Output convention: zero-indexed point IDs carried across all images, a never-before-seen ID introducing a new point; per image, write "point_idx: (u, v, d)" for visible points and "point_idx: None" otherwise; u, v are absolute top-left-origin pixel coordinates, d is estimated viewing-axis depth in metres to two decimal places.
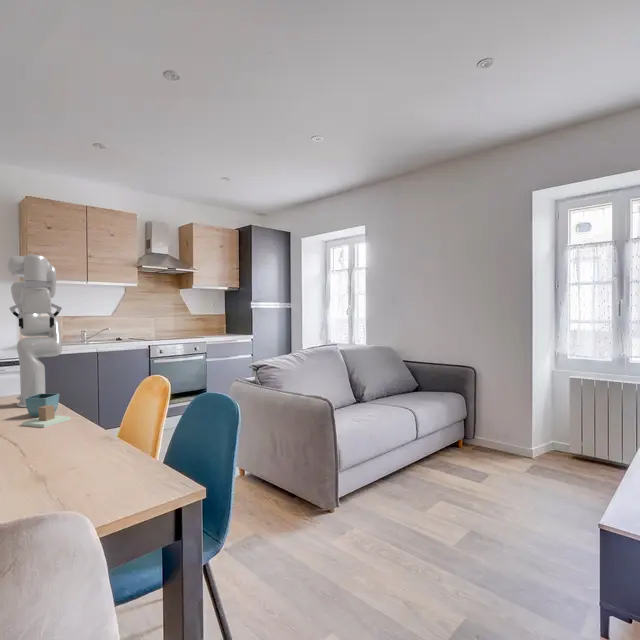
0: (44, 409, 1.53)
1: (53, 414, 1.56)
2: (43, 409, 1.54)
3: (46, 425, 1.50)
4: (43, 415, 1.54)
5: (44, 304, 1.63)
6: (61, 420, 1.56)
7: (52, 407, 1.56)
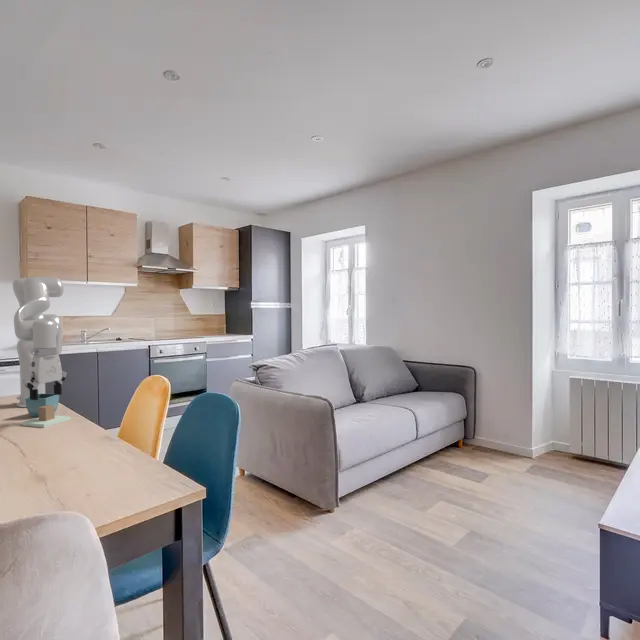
0: (44, 409, 1.53)
1: (53, 414, 1.56)
2: (43, 409, 1.54)
3: (46, 425, 1.50)
4: (43, 415, 1.54)
5: None
6: (61, 420, 1.56)
7: (52, 407, 1.56)
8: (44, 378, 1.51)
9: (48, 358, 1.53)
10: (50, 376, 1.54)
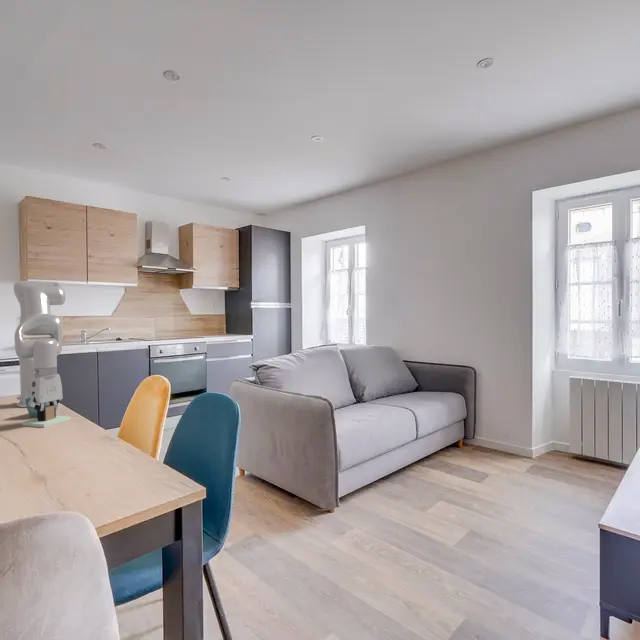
0: (44, 409, 1.53)
1: (53, 414, 1.56)
2: None
3: (46, 425, 1.50)
4: None
5: None
6: (61, 420, 1.56)
7: (52, 407, 1.56)
8: (44, 398, 1.52)
9: (48, 378, 1.54)
10: (50, 395, 1.54)
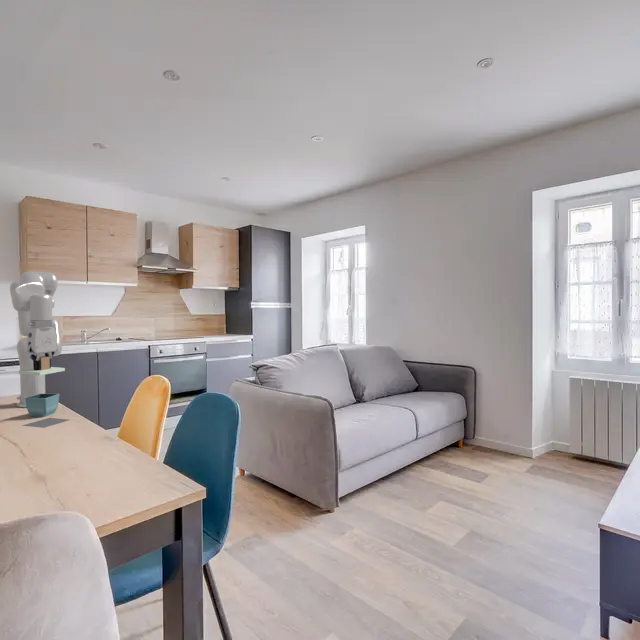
0: (40, 359, 1.63)
1: (48, 364, 1.66)
2: (39, 359, 1.63)
3: (41, 373, 1.59)
4: None
5: None
6: (56, 370, 1.65)
7: (47, 358, 1.65)
8: (40, 348, 1.61)
9: (44, 330, 1.63)
10: (45, 346, 1.63)
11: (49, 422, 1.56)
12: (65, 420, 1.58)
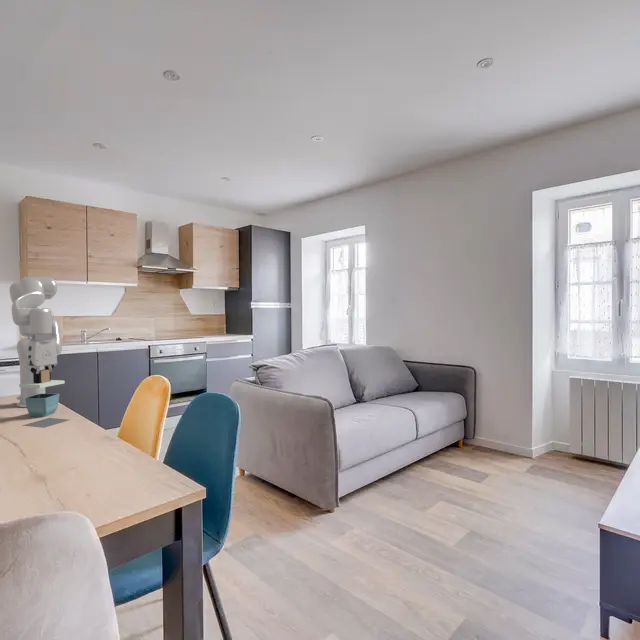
0: (40, 372, 1.65)
1: (48, 377, 1.68)
2: (39, 372, 1.65)
3: (41, 386, 1.61)
4: None
5: None
6: (56, 383, 1.67)
7: (47, 371, 1.67)
8: (40, 361, 1.63)
9: (44, 343, 1.65)
10: (45, 360, 1.65)
11: (49, 422, 1.56)
12: (65, 420, 1.58)
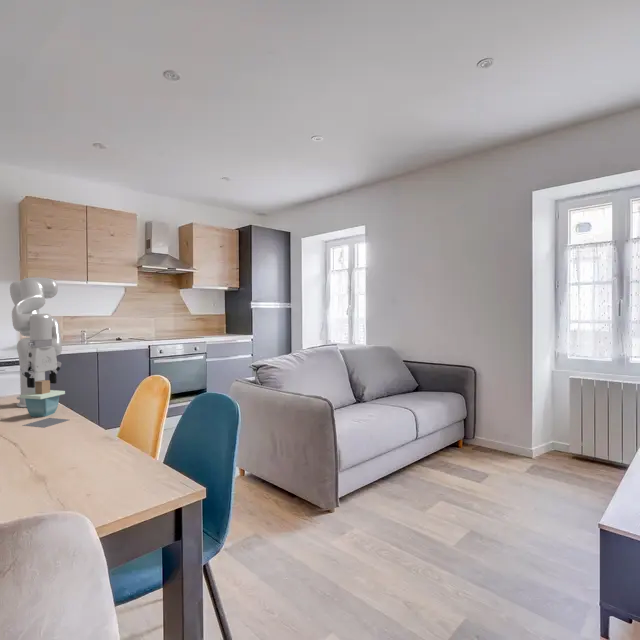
0: (40, 383, 1.65)
1: (49, 388, 1.68)
2: (39, 383, 1.65)
3: (42, 397, 1.61)
4: (40, 388, 1.65)
5: None
6: (56, 393, 1.67)
7: (48, 381, 1.68)
8: (40, 367, 1.63)
9: (44, 349, 1.65)
10: (45, 366, 1.66)
11: (49, 422, 1.56)
12: (65, 420, 1.58)
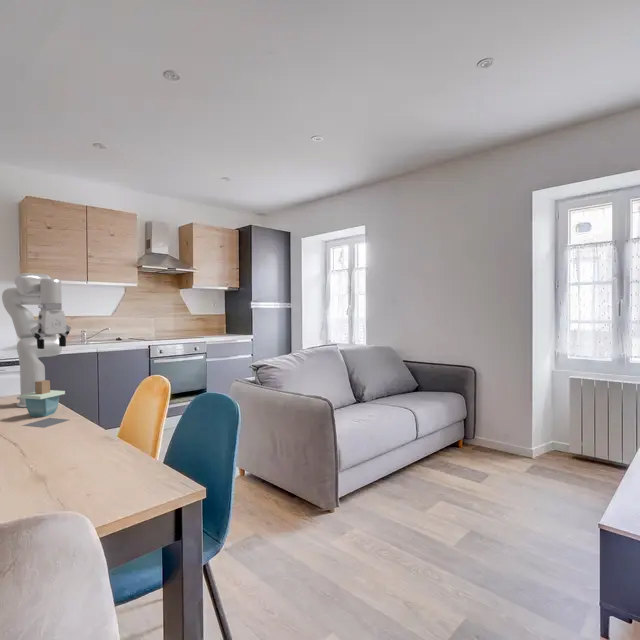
0: (40, 383, 1.65)
1: (49, 388, 1.68)
2: (39, 383, 1.65)
3: (42, 397, 1.61)
4: (40, 388, 1.65)
5: None
6: (56, 394, 1.67)
7: (48, 381, 1.68)
8: (50, 330, 1.69)
9: (54, 312, 1.70)
10: (55, 328, 1.71)
11: (49, 422, 1.56)
12: (65, 420, 1.58)
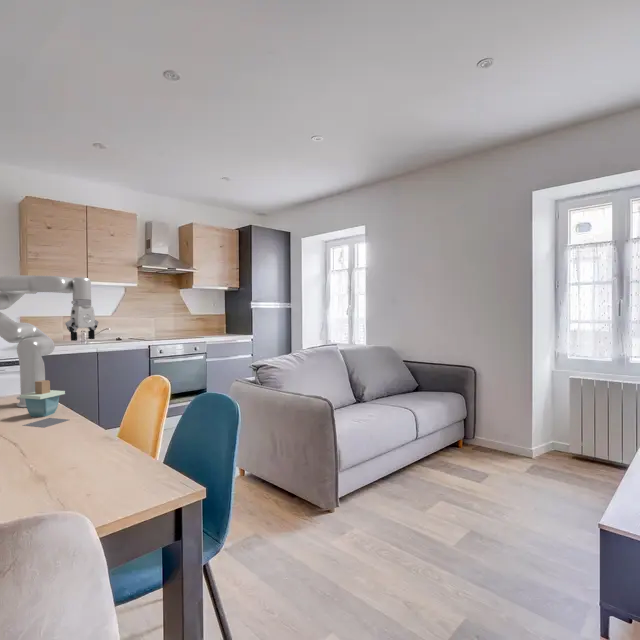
0: (40, 383, 1.65)
1: (49, 388, 1.68)
2: (39, 383, 1.65)
3: (42, 397, 1.61)
4: (40, 388, 1.65)
5: None
6: (56, 394, 1.67)
7: (48, 381, 1.68)
8: (82, 323, 1.87)
9: (85, 308, 1.89)
10: (86, 322, 1.89)
11: (49, 422, 1.56)
12: (65, 420, 1.58)
